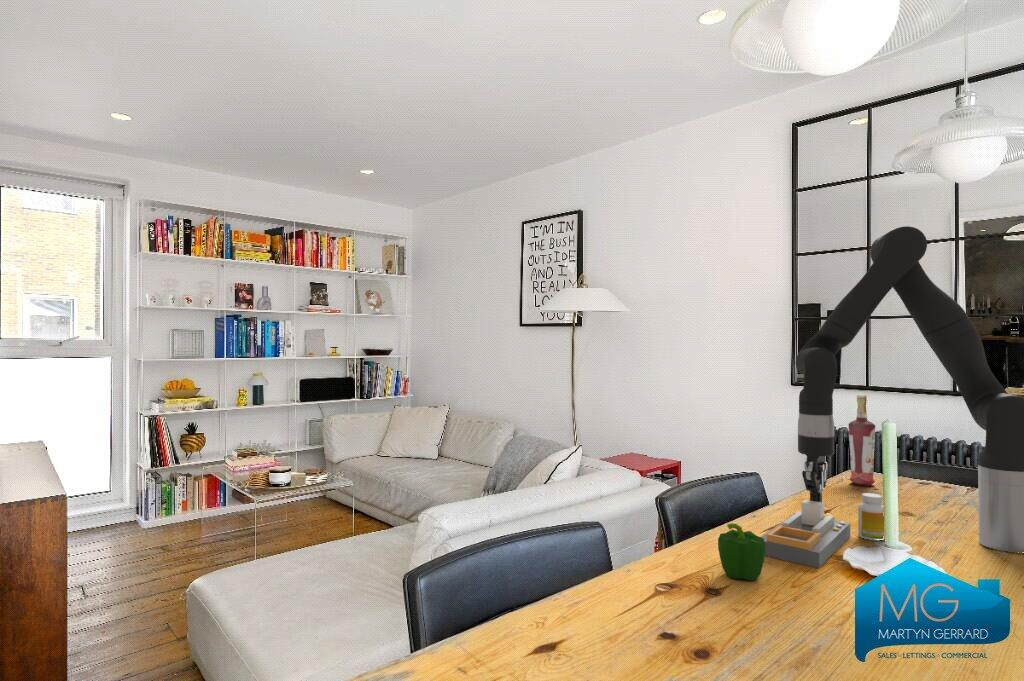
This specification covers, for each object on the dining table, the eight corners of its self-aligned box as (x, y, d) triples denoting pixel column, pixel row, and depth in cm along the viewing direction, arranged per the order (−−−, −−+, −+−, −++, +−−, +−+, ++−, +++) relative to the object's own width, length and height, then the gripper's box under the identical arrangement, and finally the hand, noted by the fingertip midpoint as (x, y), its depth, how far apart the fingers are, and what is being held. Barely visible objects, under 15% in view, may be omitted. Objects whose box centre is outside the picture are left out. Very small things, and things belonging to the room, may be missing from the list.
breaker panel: (850, 536, 136) (850, 514, 136) (819, 568, 116) (819, 542, 116) (794, 525, 144) (794, 505, 144) (756, 553, 124) (756, 530, 124)
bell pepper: (764, 571, 115) (763, 519, 115) (767, 587, 107) (766, 532, 107) (718, 565, 118) (718, 515, 118) (718, 581, 110) (717, 527, 110)
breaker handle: (824, 524, 134) (824, 502, 134) (820, 527, 132) (820, 505, 132) (805, 520, 137) (805, 499, 137) (801, 523, 134) (801, 502, 134)
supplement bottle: (891, 541, 132) (891, 498, 132) (867, 541, 132) (866, 498, 132) (877, 534, 137) (876, 492, 137) (853, 534, 137) (853, 492, 137)
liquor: (870, 488, 181) (870, 397, 181) (845, 484, 186) (844, 395, 186) (879, 485, 185) (878, 395, 186) (854, 480, 191) (853, 394, 191)
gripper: (825, 438, 130) (826, 517, 129) (841, 431, 139) (841, 505, 139) (789, 435, 135) (789, 511, 134) (806, 428, 144) (807, 499, 144)
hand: (816, 508), depth 137 cm, fingers closed
